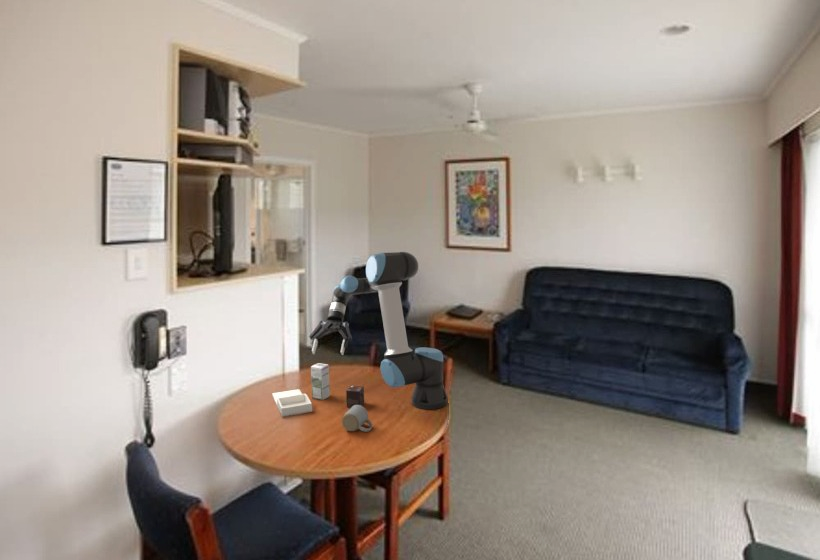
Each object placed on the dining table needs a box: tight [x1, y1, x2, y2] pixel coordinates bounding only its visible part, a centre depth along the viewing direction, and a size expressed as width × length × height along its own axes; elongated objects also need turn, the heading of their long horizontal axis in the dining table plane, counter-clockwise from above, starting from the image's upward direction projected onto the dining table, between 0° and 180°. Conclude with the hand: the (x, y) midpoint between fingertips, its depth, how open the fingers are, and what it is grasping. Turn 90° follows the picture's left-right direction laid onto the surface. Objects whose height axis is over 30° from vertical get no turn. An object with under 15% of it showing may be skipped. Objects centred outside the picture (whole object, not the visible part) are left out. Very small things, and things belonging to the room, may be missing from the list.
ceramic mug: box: [341, 405, 373, 433], centre depth 179 cm, size 11×8×8 cm
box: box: [345, 385, 365, 408], centre depth 201 cm, size 6×6×7 cm
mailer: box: [271, 388, 313, 418], centre depth 205 cm, size 27×12×4 cm, turn 24°
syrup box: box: [310, 362, 331, 401], centre depth 210 cm, size 6×6×14 cm
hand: (327, 353), depth 219 cm, fingers open, 13 cm apart
